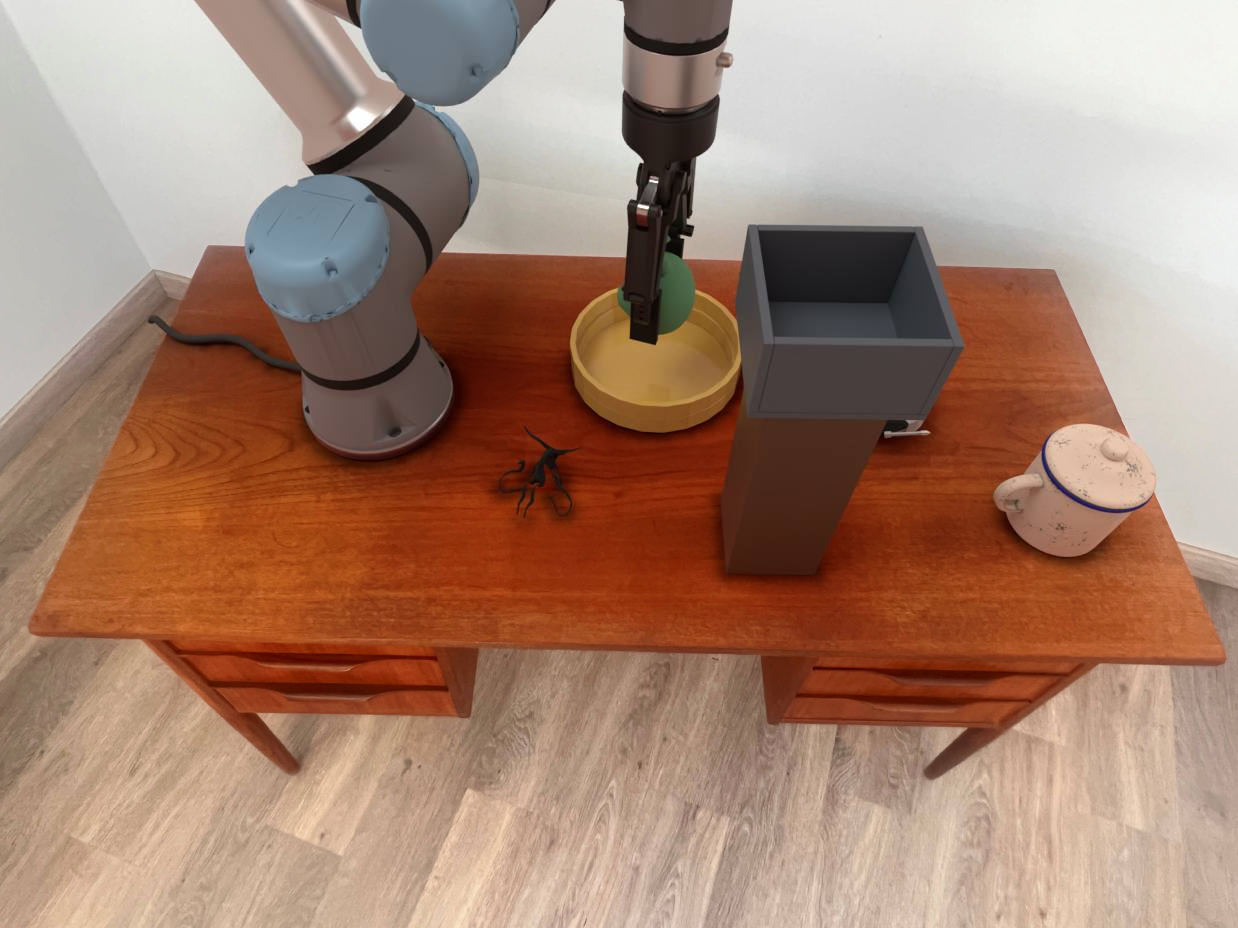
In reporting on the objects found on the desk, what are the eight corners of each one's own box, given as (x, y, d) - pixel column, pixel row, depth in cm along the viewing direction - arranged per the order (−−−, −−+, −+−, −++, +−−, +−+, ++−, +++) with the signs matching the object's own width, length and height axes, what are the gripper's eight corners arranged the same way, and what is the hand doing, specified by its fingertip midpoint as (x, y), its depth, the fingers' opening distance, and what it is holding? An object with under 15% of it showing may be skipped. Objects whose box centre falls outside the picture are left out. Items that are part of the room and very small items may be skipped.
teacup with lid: (1076, 476, 73) (1145, 400, 64) (1119, 558, 68) (1200, 487, 58) (958, 483, 73) (1009, 407, 63) (991, 565, 67) (1052, 496, 58)
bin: (708, 587, 66) (764, 343, 41) (703, 487, 72) (748, 223, 47) (834, 589, 66) (965, 346, 41) (817, 489, 72) (923, 226, 47)
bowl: (547, 408, 78) (544, 380, 74) (604, 297, 88) (603, 267, 84) (714, 453, 75) (719, 425, 71) (753, 332, 85) (760, 302, 81)
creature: (560, 537, 70) (595, 466, 73) (550, 519, 65) (588, 443, 68) (489, 508, 72) (526, 440, 75) (474, 487, 67) (514, 415, 70)
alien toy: (616, 302, 78) (617, 222, 70) (688, 302, 78) (698, 223, 70) (616, 350, 74) (618, 271, 66) (693, 350, 74) (704, 272, 66)
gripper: (683, 172, 50) (662, 393, 69) (748, 39, 61) (714, 261, 80) (580, 150, 51) (586, 373, 70) (661, 24, 62) (648, 246, 81)
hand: (654, 313), depth 75 cm, fingers closed on alien toy, 7 cm apart
